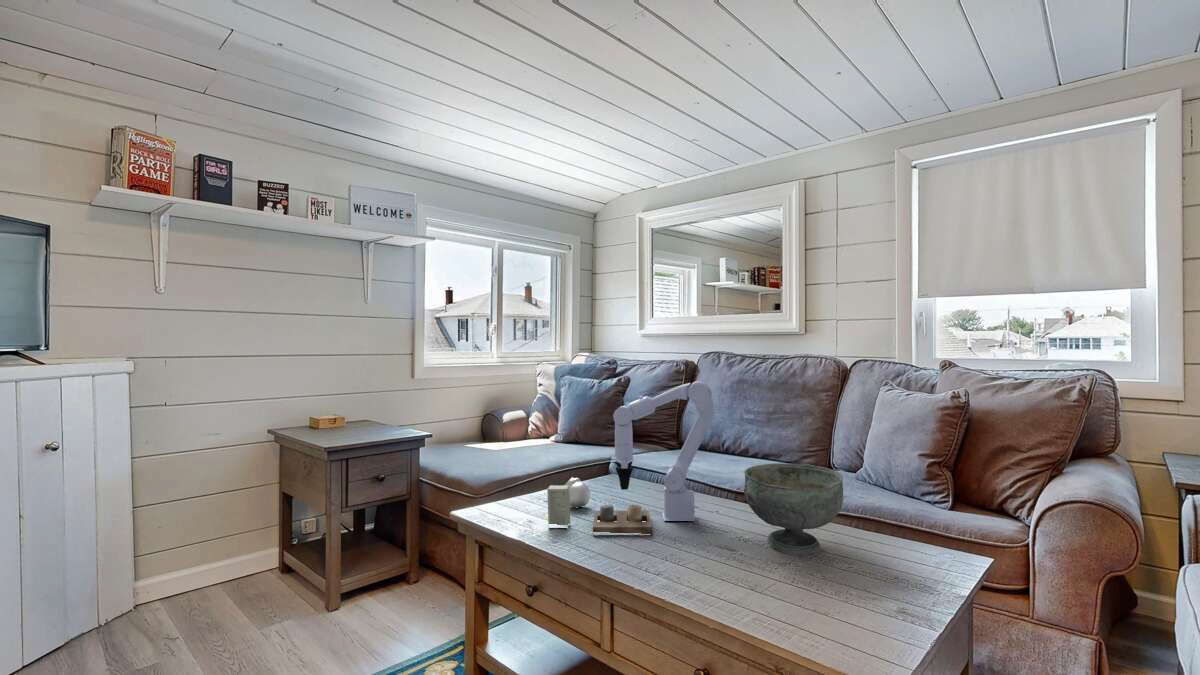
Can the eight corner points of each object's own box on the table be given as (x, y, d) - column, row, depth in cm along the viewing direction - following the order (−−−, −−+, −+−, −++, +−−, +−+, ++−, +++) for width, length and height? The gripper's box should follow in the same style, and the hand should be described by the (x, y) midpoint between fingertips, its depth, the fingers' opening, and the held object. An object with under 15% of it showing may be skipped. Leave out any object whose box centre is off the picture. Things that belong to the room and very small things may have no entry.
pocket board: (648, 518, 180) (648, 499, 180) (652, 535, 164) (651, 514, 164) (594, 518, 180) (594, 499, 180) (592, 535, 164) (592, 515, 164)
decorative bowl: (856, 569, 138) (855, 486, 139) (747, 562, 144) (746, 482, 144) (834, 533, 164) (833, 463, 165) (742, 528, 170) (741, 460, 170)
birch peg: (641, 524, 174) (641, 504, 174) (642, 528, 170) (641, 508, 170) (628, 524, 174) (628, 505, 174) (628, 529, 170) (628, 508, 170)
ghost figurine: (578, 502, 199) (578, 473, 199) (595, 508, 192) (595, 478, 192) (557, 507, 193) (557, 477, 193) (574, 513, 186) (574, 482, 186)
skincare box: (570, 524, 174) (570, 485, 174) (568, 529, 170) (567, 488, 170) (550, 524, 175) (549, 484, 175) (547, 529, 171) (547, 488, 171)
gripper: (611, 439, 190) (611, 480, 190) (611, 448, 176) (611, 492, 176) (632, 439, 190) (633, 480, 190) (634, 447, 176) (634, 492, 176)
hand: (624, 486), depth 183 cm, fingers open, 7 cm apart
